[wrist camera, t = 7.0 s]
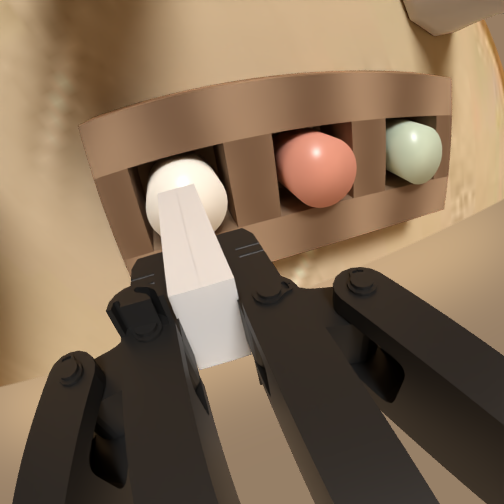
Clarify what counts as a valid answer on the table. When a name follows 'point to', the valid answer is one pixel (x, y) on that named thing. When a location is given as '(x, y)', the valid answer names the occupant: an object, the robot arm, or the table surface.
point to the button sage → (412, 150)
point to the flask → (450, 13)
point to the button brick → (314, 166)
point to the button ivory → (181, 174)
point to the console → (271, 154)
